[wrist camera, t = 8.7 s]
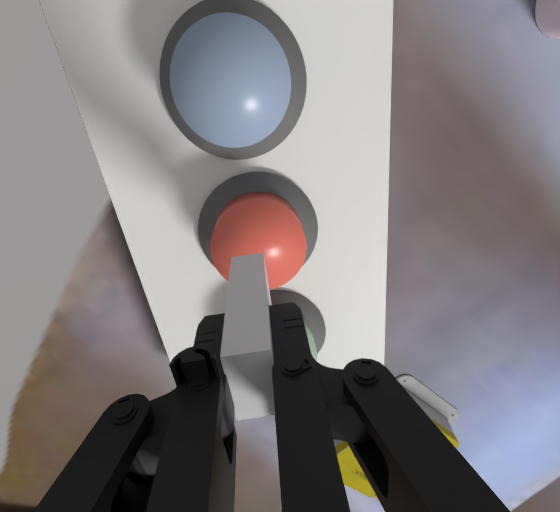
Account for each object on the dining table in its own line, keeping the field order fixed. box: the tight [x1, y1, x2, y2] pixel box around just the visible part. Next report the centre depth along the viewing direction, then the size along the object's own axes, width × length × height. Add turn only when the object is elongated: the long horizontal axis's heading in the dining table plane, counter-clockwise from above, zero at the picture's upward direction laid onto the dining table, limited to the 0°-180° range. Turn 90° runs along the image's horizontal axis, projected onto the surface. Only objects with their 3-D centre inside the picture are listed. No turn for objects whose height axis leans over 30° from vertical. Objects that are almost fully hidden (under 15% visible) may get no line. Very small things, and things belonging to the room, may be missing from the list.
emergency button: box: [333, 374, 459, 498], centre depth 34 cm, size 9×4×15 cm
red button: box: [210, 192, 307, 290], centre depth 19 cm, size 5×5×2 cm
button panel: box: [39, 0, 393, 369], centre depth 22 cm, size 16×26×3 cm, turn 7°
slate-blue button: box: [170, 12, 291, 148], centre depth 16 cm, size 5×5×2 cm
